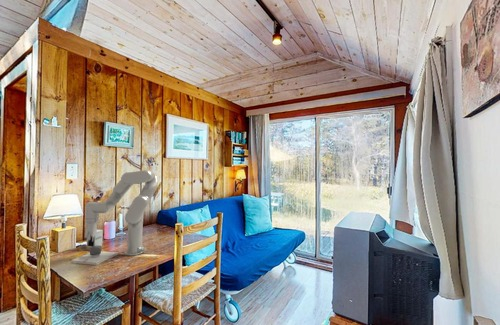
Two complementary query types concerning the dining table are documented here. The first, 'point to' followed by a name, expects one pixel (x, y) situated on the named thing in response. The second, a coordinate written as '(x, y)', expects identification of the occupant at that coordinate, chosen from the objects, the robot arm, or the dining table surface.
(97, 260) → the post base
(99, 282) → the dining table surface
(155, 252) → the dining table surface
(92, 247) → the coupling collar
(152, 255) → the dining table surface
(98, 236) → the supplement box
